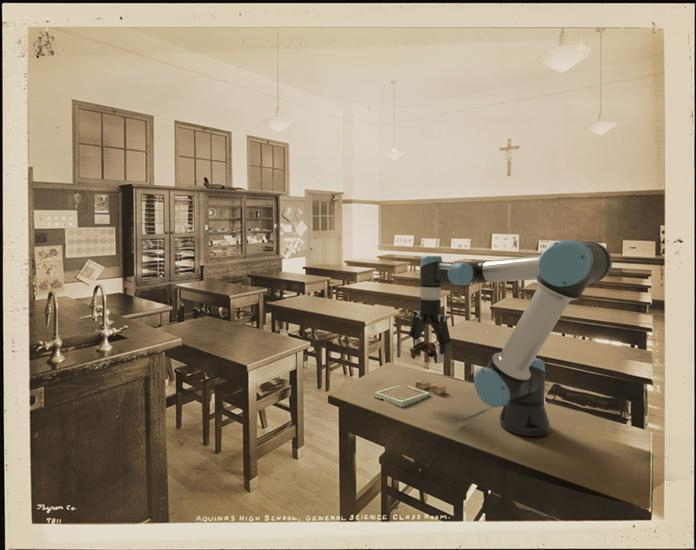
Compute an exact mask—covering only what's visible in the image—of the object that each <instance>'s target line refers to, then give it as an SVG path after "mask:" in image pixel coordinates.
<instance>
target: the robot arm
mask: <svg viewBox="0 0 696 550" xmlns="http://www.w3.org/2000/svg"><path fill="white" fill-rule="evenodd" d="M612 259H613V258H612V255H611V252H610V251H609V250H608V249H607V248H606V247H605V246H604V245H602V244H600V243H598V242H594V241H581V240H577V239H566V240H565V239H564V240H560V241H556V242H554V243H552V244H550V245H548V246H547V247H546V248H545V249H544V250H543V251H542V253H541V254H540V255H539V254H537V255H529V256H521V257H520V256H519V257H511V258H503V259H494V260H493V259H492V260H482V261H471V262H470V261H464V262H463V261H460V262H459V261H443V257H442V256H440V255H423V256H421V258H420V267H419V272H420V273H419V274H420V276H419V279H420V281H419V283H420V284H419V297H420V299H419V305H418V306H419V309H420V311H419V310H418V311H413V312H412V313H413V315H412V316H413V317H412V322H411V325H410V330H409V337H411V338H412V340H413V345H412V347H413V346H415V345H416V344H418V343H420V342H422V339H421V336H422V334H423V331H424V330H425V328H426V326H427V325H429V326H431V328H432V329H433V332H434V334H435V336H436V338H437V339H436V340H437V341H438V343H439V344H437V345H436V352H437V363H436V364H443V363H444V362H445V361H444V355H446V345H449V344H451V337H450V332H449V331H450V330H449V326H448V325H449V324H448V316H447V315H441V313H440V311H441V307H442V301H441V298H442V284H447V285H455V286H466V285H469V284H484V283H485V284H486V283H498V282H514V281H515V282H517V281H531V280H532V281H535V280H536V282H537V289H536V291H535V292H534V293H533V296H532V297H531V299H530V301H529V303H528V304H527V306H526V308H525V309H524V311H523V313H522V314H521V317H520V318H519V320H518V322H517V324H516V325H515V327H514V329H513V331H512V333H511V334H510V335H509V336H510V337H508V340H507V341H506V343H505V345H504V346H503V348H502V350H501V351H500V352H496V353H494V354H493V355H492V357H491V359H490V360H489V362H488V364H487V366H486V367H483V368H481V369H479V370H478V371H477V372H476V373H475V375H474V377H473V385H474V386H473V387H474V388H475V392H476V394H477V396H478V397H479V399H480V400H481V401H482V402H483V403H484V404H486V405H487V406H489V407H492V408H500V407H502V409H501V412H500V413H499V425H500V426H501V428H502V429H504V430H505V431H506V432H507V431H508V432H511V433H513V434H516V435H520V436H525V437H526V436H527V437H542V436H547V435H548V434H550V431H551V422H550V419H549V416H548V413H547V409H546V406H545V390H546V389H545V387H546V384H545V383H546V382H545V381H546V379H545V377H546V370H545V369H546V367H545V362H544V361H543V359H541V358H537V355H538V354H539V353H540V351H541V349H542V348H543V346H544V345H545V342H546V341H547V339H548V337H549V336H550V334H551V333H552V331H553V329H554V328H555V326H556V325H557V323H558V321H559V319H560V318H561V317H562V315H563V313H564V312H565V310H566V308H567V307H568V305H569V303H570V302H572V301H576V300H579V299H580V297H581V296H582V294H584V291H585V290H586V288H587V286H588V285H591V284H595V283H598V282H600V281H602V280H604V279H605V278H607V276H608V275H609V273H610V272H611V269H612V266H613V260H612ZM421 356H422V351H421V352H420V356H418V355H416V356H415V358H420V357H421Z"/></svg>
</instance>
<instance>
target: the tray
mask: <svg viewBox="0 0 696 550" xmlns="http://www.w3.org/2000/svg"><path fill="white" fill-rule="evenodd" d="M397 386H398V387H399V385H396V386H392V387H388V388H385V389H381V390H378V391H377V390H376V391H375V392H374V395H376V396H378V397H380V398H382V399H384V400H385V401H387V402H389V403H390V402H391V403H390V404H392V403H393V404H392V405H394V404H395V405H394V406H396V405H397V406H396V407H398V406H399V408H404V407H407V406H410V405H411V404H414V403H417V402H420V401H421V399H422V400H424V399H426V398H428V397H427V396H429V395H430V396H431V392H429V391H426V390H422V389H420V388H417V387H413V386H411V385H407V386H408V387H409V388H408V387H407V388H408V389H410V388H411V390H412V389H413V390H412V391H415V390H416V392H417V391H418V392H417V393H419V392H421V393H423V394H421V393H420V394H418V395H415V396H411V397H409V398H404V399H405V400H398V399H399V398H396V397H392V396H391V397H389V396H387V395H384V394H382V393H384V392H387V391H389V390H392V389H394V388H397ZM374 395H373V396H374ZM430 396H429V397H430ZM425 397H426V398H425ZM423 398H424V399H423ZM416 401H417V402H416ZM409 404H410V405H409Z"/></svg>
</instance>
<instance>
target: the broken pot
mask: <svg viewBox="0 0 696 550" xmlns="http://www.w3.org/2000/svg"><path fill="white" fill-rule="evenodd" d="M409 351H410V357H411V358H412V359H413V360H415V358H416V357H415V356H416V355H418V356H420V352H421V353H422V352H423V353H427V357H428V358H433V359H432V360H433V362H434V364H438V363H437V345H436V344H435V343H433V342H428V341H427V340H423V341H422V340H421V342H420V343H418V344H416V345H415V346H413V345H412V347H411V348H410V349H409ZM420 357H421V356H420Z"/></svg>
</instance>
